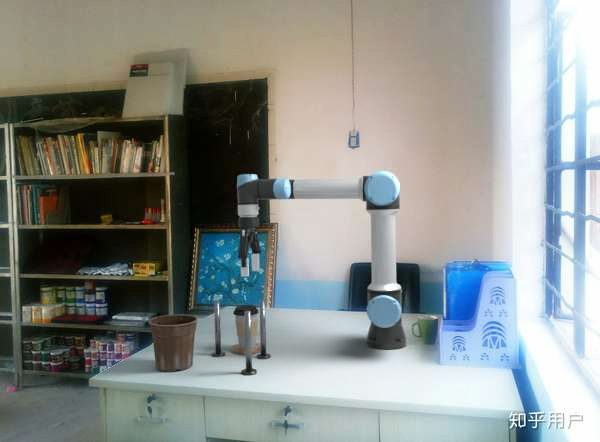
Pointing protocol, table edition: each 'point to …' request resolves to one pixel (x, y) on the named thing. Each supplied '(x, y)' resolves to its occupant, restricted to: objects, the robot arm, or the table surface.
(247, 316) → the pole outer
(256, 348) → the coaster
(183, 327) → the plant pot
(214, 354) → the pole far
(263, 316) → the pole corner
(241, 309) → the coffee cup
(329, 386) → the table surface
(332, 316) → the table surface
